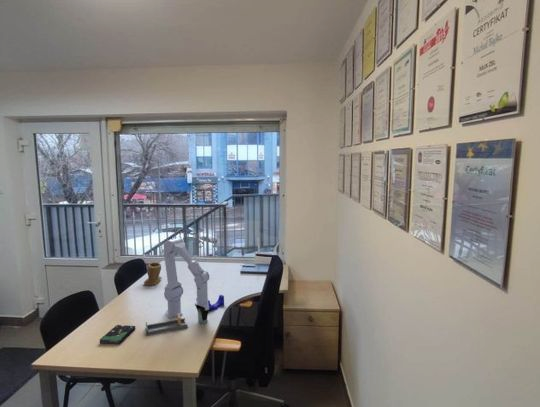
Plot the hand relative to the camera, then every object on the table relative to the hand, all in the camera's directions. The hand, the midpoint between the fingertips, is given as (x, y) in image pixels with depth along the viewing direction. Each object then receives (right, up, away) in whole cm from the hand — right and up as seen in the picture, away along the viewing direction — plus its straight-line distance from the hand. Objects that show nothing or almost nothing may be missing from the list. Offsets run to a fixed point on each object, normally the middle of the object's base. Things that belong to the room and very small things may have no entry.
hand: (202, 318), depth 173 cm
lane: (-17, -3, -7) cm, 19 cm away
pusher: (-12, -2, -5) cm, 13 cm away
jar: (0, -2, 0) cm, 2 cm away
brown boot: (-49, +4, +61) cm, 79 cm away
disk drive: (-39, -4, -16) cm, 42 cm away
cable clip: (+4, -1, +18) cm, 18 cm away
